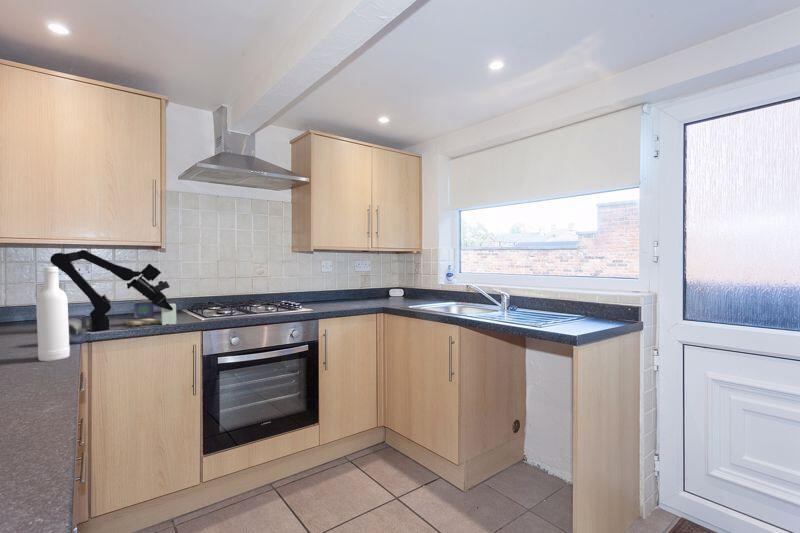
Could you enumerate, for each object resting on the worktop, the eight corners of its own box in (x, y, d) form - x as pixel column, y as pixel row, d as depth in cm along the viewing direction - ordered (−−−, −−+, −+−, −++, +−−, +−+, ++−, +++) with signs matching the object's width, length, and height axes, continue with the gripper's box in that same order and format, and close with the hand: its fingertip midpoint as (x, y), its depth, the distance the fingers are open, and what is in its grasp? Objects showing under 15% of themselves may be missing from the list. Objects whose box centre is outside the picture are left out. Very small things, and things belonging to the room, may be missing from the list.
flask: (133, 319, 218) (132, 299, 218) (135, 318, 221) (134, 298, 220) (153, 318, 221) (152, 298, 221) (154, 317, 224) (154, 297, 223)
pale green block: (162, 325, 196) (161, 305, 196) (161, 323, 202) (160, 304, 201) (176, 323, 200) (175, 304, 199) (175, 322, 205) (174, 303, 205)
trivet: (133, 326, 194) (133, 323, 194) (122, 324, 201) (122, 321, 201) (160, 322, 204) (160, 320, 204) (149, 320, 211) (149, 318, 211)
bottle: (31, 361, 129) (27, 267, 128) (52, 355, 137) (48, 266, 136) (56, 361, 129) (52, 267, 128) (76, 355, 137) (72, 266, 136)
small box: (47, 346, 151) (46, 318, 151) (54, 343, 157) (53, 316, 157) (82, 343, 156) (81, 316, 155) (87, 340, 162) (86, 314, 161)
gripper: (159, 276, 190) (186, 298, 196) (157, 275, 205) (182, 295, 212) (139, 294, 186) (168, 316, 192) (139, 291, 201) (165, 311, 208)
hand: (171, 309), depth 201 cm, fingers closed on pale green block, 6 cm apart
